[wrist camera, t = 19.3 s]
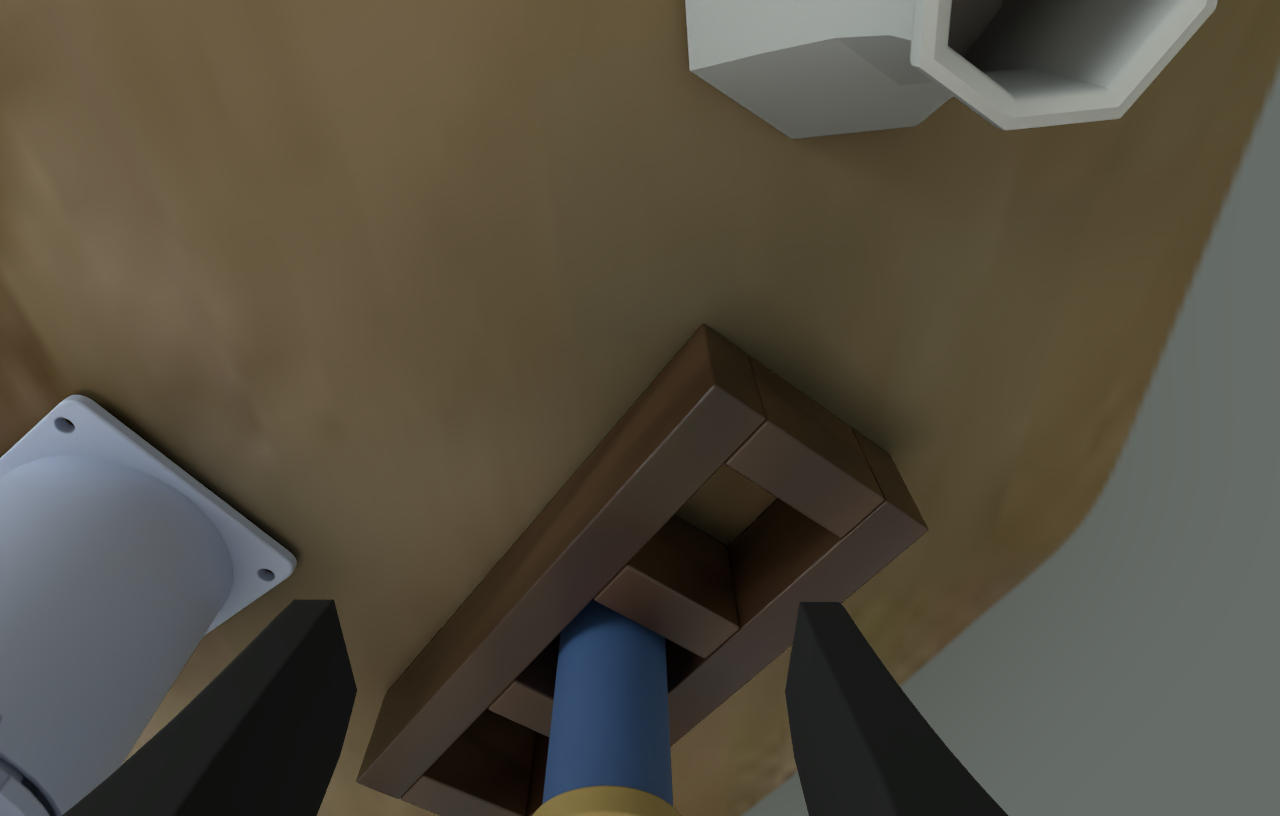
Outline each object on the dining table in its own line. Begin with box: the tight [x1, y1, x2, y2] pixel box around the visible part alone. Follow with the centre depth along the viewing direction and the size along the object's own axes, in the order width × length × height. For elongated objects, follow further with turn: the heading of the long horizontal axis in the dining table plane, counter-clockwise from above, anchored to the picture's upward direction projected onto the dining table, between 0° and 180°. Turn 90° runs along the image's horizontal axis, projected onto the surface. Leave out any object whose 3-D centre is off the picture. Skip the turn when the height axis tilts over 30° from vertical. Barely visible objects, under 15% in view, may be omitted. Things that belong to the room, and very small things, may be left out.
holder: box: [356, 324, 928, 816], centre depth 24 cm, size 7×18×4 cm, turn 143°
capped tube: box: [533, 598, 681, 816], centre depth 21 cm, size 4×4×9 cm
